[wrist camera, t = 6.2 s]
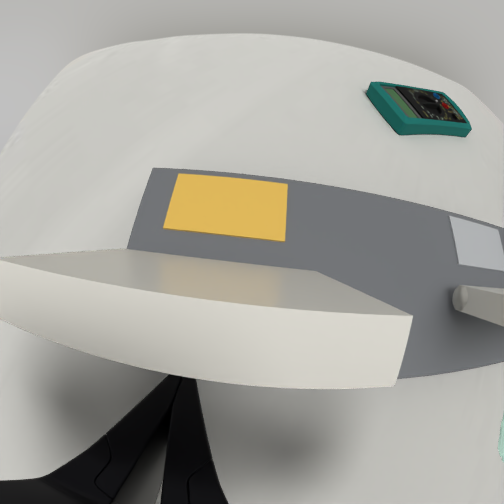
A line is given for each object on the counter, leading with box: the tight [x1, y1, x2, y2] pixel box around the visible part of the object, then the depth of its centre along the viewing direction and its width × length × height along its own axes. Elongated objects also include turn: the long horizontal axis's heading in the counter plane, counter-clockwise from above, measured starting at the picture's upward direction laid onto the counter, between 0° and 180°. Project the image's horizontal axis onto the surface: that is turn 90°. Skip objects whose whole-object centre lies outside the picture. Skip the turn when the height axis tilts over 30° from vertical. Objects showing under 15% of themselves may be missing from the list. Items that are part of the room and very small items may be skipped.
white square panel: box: [0, 249, 413, 389], centre depth 10 cm, size 2×10×10 cm, turn 85°
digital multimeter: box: [366, 82, 472, 137], centre depth 26 cm, size 7×15×3 cm, turn 106°
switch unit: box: [127, 168, 504, 379], centre depth 16 cm, size 12×31×3 cm, turn 84°
